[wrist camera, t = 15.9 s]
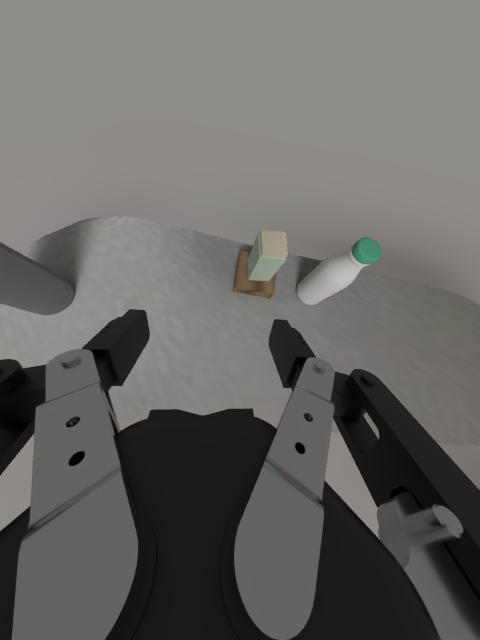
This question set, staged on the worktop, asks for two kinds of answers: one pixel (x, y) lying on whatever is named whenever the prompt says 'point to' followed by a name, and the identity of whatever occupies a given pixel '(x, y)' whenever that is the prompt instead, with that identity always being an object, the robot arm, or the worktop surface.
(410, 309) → the worktop surface
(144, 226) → the worktop surface
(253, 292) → the walnut box
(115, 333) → the robot arm
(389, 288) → the worktop surface
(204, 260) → the worktop surface
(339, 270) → the milk bottle
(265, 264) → the tea tin
